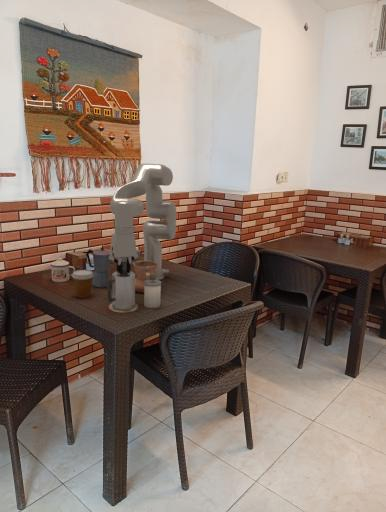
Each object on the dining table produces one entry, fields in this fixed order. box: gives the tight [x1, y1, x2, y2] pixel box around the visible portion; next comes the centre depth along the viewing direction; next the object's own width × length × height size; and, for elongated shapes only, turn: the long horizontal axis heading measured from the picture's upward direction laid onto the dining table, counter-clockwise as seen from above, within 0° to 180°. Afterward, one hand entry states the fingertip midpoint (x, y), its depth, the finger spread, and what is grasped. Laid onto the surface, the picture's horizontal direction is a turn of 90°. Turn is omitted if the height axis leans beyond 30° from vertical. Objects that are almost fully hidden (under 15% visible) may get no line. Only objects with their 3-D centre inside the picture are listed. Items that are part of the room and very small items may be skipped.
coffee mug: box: [121, 248, 141, 265], centre depth 244 cm, size 13×10×10 cm
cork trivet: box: [108, 302, 139, 313], centre depth 173 cm, size 13×13×1 cm
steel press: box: [106, 270, 136, 311], centre depth 171 cm, size 12×10×15 cm
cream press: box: [143, 273, 162, 309], centre depth 175 cm, size 8×8×16 cm
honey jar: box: [71, 269, 94, 299], centre depth 183 cm, size 10×10×12 cm
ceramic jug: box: [133, 259, 158, 294], centre depth 195 cm, size 18×14×14 cm
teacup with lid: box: [50, 257, 76, 283], centre depth 206 cm, size 12×9×12 cm
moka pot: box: [85, 246, 112, 288], centre depth 199 cm, size 10×15×20 cm, turn 78°
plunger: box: [121, 261, 127, 275], centre depth 170 cm, size 3×3×18 cm
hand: (123, 272), depth 169 cm, fingers closed on plunger, 3 cm apart
